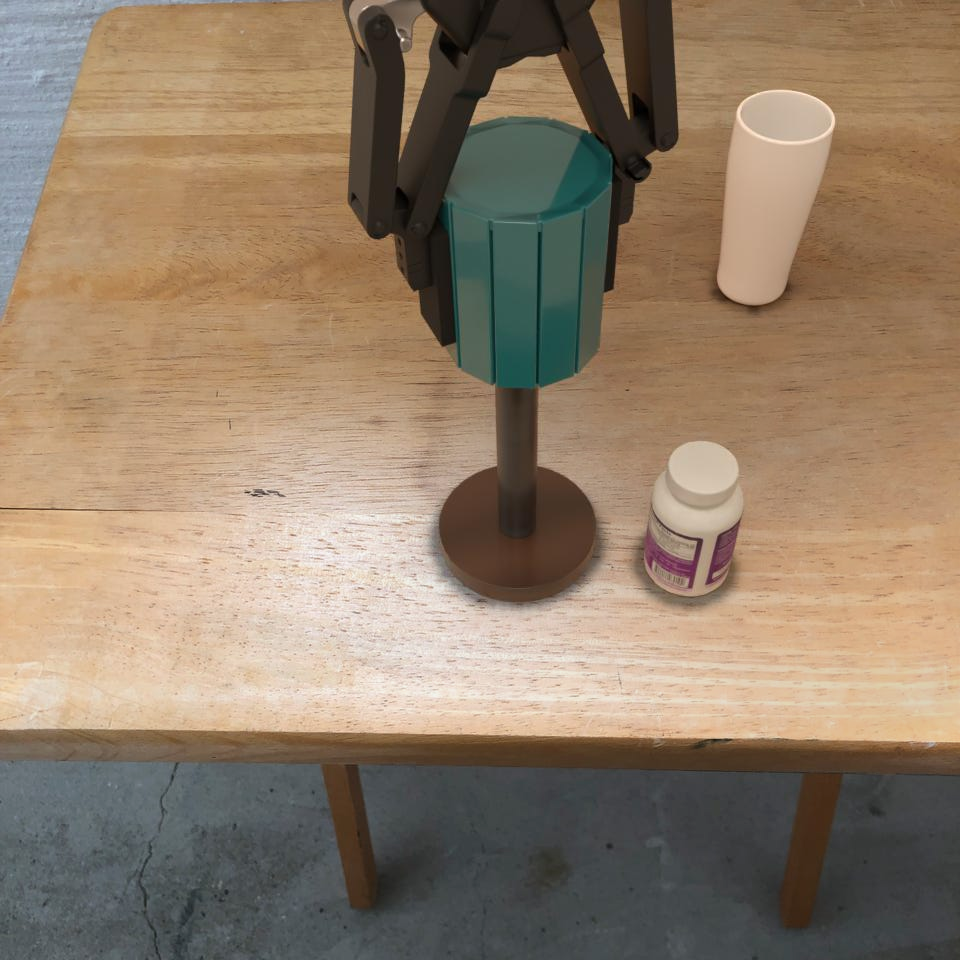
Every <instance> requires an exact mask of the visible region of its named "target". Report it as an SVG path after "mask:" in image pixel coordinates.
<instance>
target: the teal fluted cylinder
mask: <svg viewBox="0 0 960 960" xmlns="http://www.w3.org/2000/svg"><path fill="white" fill-rule="evenodd" d="M612 170H613V159H612V158H611V153H610V152H609V151H608V150H607V149H606V148H605V147H604V146H603V145H602V144H601V143H600V141H599V140H598V139H597V138H596V137H595V136H594V135H593V134H592V133H591V132H589V131H588V130H587V129H584V128H581V127H579V126H577V125H573V124H570V123H568V122H565V121H562V120H559V119H556V118H554V117H553V118H550V117H548V116H525V115H524V116H522V115H508V116H506V117H505V116H500V117H496V118H493V119H490V120H485V121H482V122H478V123H475V124H470V125H469V128H468V130H467V133H466V136H465V139H464V142H463V144H462V147H461V150H460V153H459V155H458V158H457V161H456V164H455V166H454V169H453V172H452V175H451V177H450V180H449V183H448V186H447V188H446V191H445V194H444V197H443V199H442V202H441V205H440V208H439V210H438V213H437V216H436V217H437V218H438V219H439V221H440V222H441V224H442V225H443V226H444V228H445V229H446V231H447V232H448V233H449V241H450V256H451V271H452V287H453V302H454V317H455V332H456V343H453V344H450V345H447V346H444V348H445V349H446V351H447V353H448V355H449V356H450V358H451V359H452V361H453V363H455V365H456V367H457V368H458V369H461V372H463V373H465V374H467V375H469V376H471V377H473V378H476V379H477V380H479V381H481V382H483V383H485V384H488V385H490V386H495V383H496V386H497V387H506V388H526V389H535V388H536V384H537V385H538V387H539V389H542V388H545V387H547V386H551V385H553V384H556V383H559V382H562V381H565V380H567V379H571V378H573V377H575V374H576V375H579V374H580V373H581V371H582V370H583V369H584V368H585V367H586V366H587V365H588V364H589V363H590V361H592V359H593V358H594V357H596V355H597V354H598V353H599V349H600V347H601V335H602V320H603V307H604V297H605V296H604V295H605V293H604V283H605V270H606V256H607V243H608V230H609V217H610V204H611V191H612Z"/></svg>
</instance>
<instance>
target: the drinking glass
mask: <svg viewBox="0 0 960 960" xmlns="http://www.w3.org/2000/svg"><path fill="white" fill-rule="evenodd" d="M835 127H836V117H835V113H834V112H833V110H832V109H831V107H830V106H829V105H828V104H826V102H824V101H823V100H821V99H819V98H817V97H815V96H814V95H811V94H808V93H805V92H801V91H797V90H790V89H770V90H764V91H760V92H757V93H754V94H751V95H749V96H748V97H746V98H745V99H744V100H742V101H741V102H740V103H739V104H738V107H737V109H736V112H735V117H734V121H733V126H732V130H731V134H730V135H731V136H730V140H729V145H728V151H727V159H726V168H725V179H724V180H725V181H724V192H723V193H724V194H723V195H724V196H723V208H722V223H721V234H720V238H721V239H720V249H719V259H718V265H717V272H716V283H717V286H718V288H719V290H720V292H721V293H722V294H723V295H724V296H725V297H726V298H728V299H729V300H731V301H733V302H736V303H738V304H742V305H746V306H765V305H768V304H770V303H772V302H774V301H776V300H777V299H779V298H780V297H781V296H782V295H783V293H785V290H786V287H787V284H788V281H789V276H790V273H791V269H792V267H793V263H794V260H795V258H796V254H797V253H798V252H797V251H798V248H799V245H800V243H801V240H802V238H803V234H804V232H805V229H806V226H807V224H808V221H809V218H810V215H811V213H812V211H813V207H814V204H815V201H816V199H817V196H818V193H819V190H820V187H821V185H822V182H823V178H824V175H825V172H826V168H827V164H828V160H829V157H830V152H831V148H832V143H833V139H834V133H835Z"/></svg>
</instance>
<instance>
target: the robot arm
mask: <svg viewBox="0 0 960 960" xmlns="http://www.w3.org/2000/svg"><path fill="white" fill-rule="evenodd" d="M595 2H596V0H342V2H341V7H342V11H343V14H344V18H345V20H346V24H347V26H348V30H349V33H350V36H351V39H352V43H353V47H354V55H353V57H354V58H353V79H352V95H351V96H352V97H351V99H352V100H351V119H350V139H349V157H348V158H349V159H348V179H347V181H348V182H347V204H348V205H349V207H350V209H351V210H352V212H353V214H354V216H355V217H356V219H357V220H358V222H359V223H360V225H361V226H362V228H363V229H364V231H365V233H366V234H367V235H368V237H369V238H370V239H373V240H378V241H379V240H382V239H385V238H386V237H388V236H389V235H390V234H393V239H394V247H395V248H394V249H395V256H396V267H397V268H398V271H399V272H400V273H401V275H402V276H403V278H404V280H405V281H406V283H407V284H408V286H409V287H410V289H411V290H412V291H413V292H417V291H418V299H419V300H418V301H419V310H420V315H421V317H422V319H423V320H424V321H425V323H426V324H427V327H428V328H429V330H430V331H431V333H432V334H433V335H434V337H435V339H436V340H437V341H438V343H439V344H440V346H441V347H442V348H443V347H444V348H445V346H447V345H450V344H453V343H456V332H455V317H454V302H453V287H452V271H451V256H450V241H449V233H448V232H447V231H446V229H445V228H444V226H443V225H442V224H441V222H440V221H439V219H438V218H437V217H436V216H437V213H438V210H439V208H440V205H441V202H442V199H443V197H444V194H445V191H446V188H447V186H448V183H449V180H450V177H451V175H452V172H453V169H454V166H455V164H456V161H457V158H458V155H459V153H460V150H461V147H462V144H463V142H464V139H465V136H466V133H467V130H468V128H469V126H471V122H472V120H473V117H474V113H475V111H476V109H477V105H478V103H479V101H480V100H481V99H484V98H486V97H487V96H488V95H489V92H490V90H491V88H492V85H493V81H494V79H495V77H496V74H497V72H498V70H501V69H505V68H509V67H511V66H513V65H515V64H517V63H520V61H522V60H524V59H526V58H547V57H549V56H553V55H554V56H555V55H556V57H557V59H558V61H559V63H560V65H561V68H562V70H563V72H564V74H565V77H566V79H567V82H568V83H569V86H570V88H571V91H572V93H573V95H574V97H575V100H576V102H577V104H578V106H579V108H580V110H581V113H582V115H583V117H584V119H585V121H586V124H587V126H588V129H589V131H590V133H592V134H593V135H594V136H595V137H596V138H597V139H598V140H599V141H600V143H601V144H602V145H603V146H604V147H605V148H606V149H607V150H608V151H609V152H610V153H611V158H612V159H613V170H612V191H611V204H610V217H609V230H608V243H607V256H606V270H605V283H604V294H605V293H608V292H611V291H613V290H614V289H615V279H616V266H617V252H618V242H619V241H618V239H619V230H620V229H619V228H620V226H622V225H626V224H627V223H629V222H630V220H631V218H632V216H633V214H634V205H635V204H634V203H635V192H636V185H637V184H641V183H643V182H644V181H646V179H648V178H649V176H650V175H651V173H652V170H653V165H652V163H651V161H649V159H647V158H646V157H647V156H649V155H650V154H652V153H654V152H655V151H658V152H659V153H665V152H669V151H671V150H672V149H673V148H674V147H675V146H676V145H677V143H678V142H679V138H680V137H679V136H680V135H679V134H680V132H679V114H678V112H679V111H678V93H677V79H676V78H677V75H676V58H675V38H674V20H673V19H674V18H673V1H672V0H618V10H619V19H620V30H621V38H622V39H621V41H622V51H623V61H624V72H625V81H626V82H625V83H626V94H627V103H628V112H629V113H627V112H626V109H625V107H624V103H623V101H622V99H621V96H620V93H619V91H618V89H617V86H616V84H615V81H614V78H613V76H612V74H611V72H610V69H609V66H608V64H607V62H606V59H605V57H604V55H605V53H606V50H605V48H604V44H603V42H602V40H601V37H600V34H599V32H598V29H597V27H596V24H595V22H594V19H593V17H592V15H591V12H590V10H591V9H592V7H593V5H594V4H595ZM425 13H426V14H427V15H428V16H429V17H430V18H431V20H433V22H434V23H435V24H436V28H435V31H434V33H433V37H432V40H431V43H430V46H429V50H428V62H429V69H428V73H427V75H426V78H425V82H424V84H423V88H422V90H421V94H420V96H419V100H418V102H417V106H416V109H415V112H414V115H413V117H412V121H411V124H410V127H409V130H408V133H407V137H406V139H405V143H404V145H403V148H402V152H401V154H400V150H401V138H402V126H403V114H404V103H405V102H404V101H405V88H406V66H405V65H406V64H405V59H404V55H403V54H405V53H406V54H407V53H408V52H410V51H411V50H412V47H413V38H414V37H413V33H414V26H415V23H416V21H417V19H418V18H419V17H420V16H421V15H424V14H425ZM628 115H629V116H628Z"/></svg>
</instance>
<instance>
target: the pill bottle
mask: <svg viewBox="0 0 960 960" xmlns="http://www.w3.org/2000/svg"><path fill="white" fill-rule="evenodd" d="M738 463H739V462H738V461H737V459H736V457H735V455H734V454H733V453H732V452H731V451H730V450H729V449H727V448H726V447H724V446H722V445H720V444H718V443H715V442H712V441H707V440H693V441H689V442H685V443H683V444H681V445H679V446H678V447H677V448H676V449H674V450H673V451H672V453H671V454H670V455H669V459H668V462H667V466H666V469H664V471H663V472H661V473H660V474H659V476H658V477H657V479H656V480H655V482H654V484H653V487H652V491H651V496H650V503H649V510H648V518H647V526H646V533H645V542H644V548H643V564H644V567H645V570H646V572H647V574H648V576H649V578H651V579H652V580H653V582H654V584H655V585H656V586H658V587H659V588H661V589H663V590H664V591H667V592H668V593H671V594H675V595H678V596H683V597H699V596H703V595H707V594H709V593H711V592H712V591H714V590H716V589H718V588H719V587H720V586H721V585H722V584H723V582H724V581H725V579H726V578H727V576H728V574H729V570H730V567H731V563H732V560H733V556H734V555H733V554H734V551H735V547H736V543H737V538H738V534H739V530H740V526H741V521H742V516H743V513H744V507H745V496H744V492H743V489H742V487H741V485H740V483H739V474H740V468H739V464H738Z"/></svg>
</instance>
